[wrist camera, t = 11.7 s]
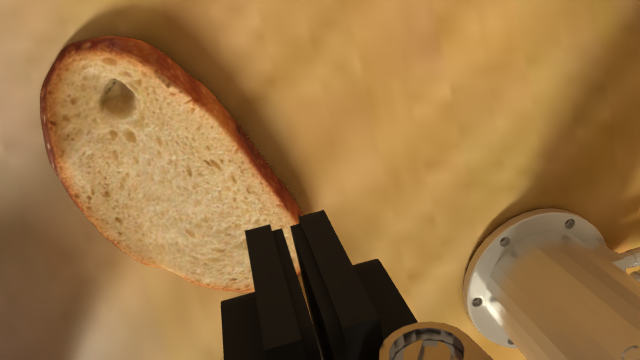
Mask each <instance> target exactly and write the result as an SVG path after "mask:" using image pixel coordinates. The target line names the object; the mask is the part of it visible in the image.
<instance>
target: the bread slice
mask: <svg viewBox="0 0 640 360" xmlns="http://www.w3.org/2000/svg"><path fill="white" fill-rule="evenodd" d="M40 116H41V124H42V130H43V135H44V141H45V147H46V151H47V155H48V159H49V162H50V164H51V166H52V168H53V170H54V172H55V173H56V175H57V176H58V178H59V179H60V181H61V182H62V184H63V185H64V187H65V189H66V191H67V192H68V194H69V196H70V197H71V199H72V200H73V202H74V203H75V204H76V205H77V207H78V208H79V209H80V210H81V211H82V212H83V213H84V215H85V216H86V217H87V218H88V219H89V220H90V221H91V222H92V223H93V224H94V225H95V226H96V228H97V229H98V230H99V232H100V233H101V234H102V235H103V236H104V237H105V238H106V239H108V240H109V241H111V242H112V243H113V244H114V245H116V246H117V247H118V248H119V249H120V250H122V251H123V252H124V253H126V254H128V255H130V256H131V257H132V258H134V259H135V260H136V261H138V262H140V263H142V264H145V265H148V266H154V267H160V268H164V269H167V270H169V271H171V272H173V273H176V274H178V275H180V276H181V277H183V278H184V279H186V280H187V281H189V282H191V283H193V284H196V285H199V286H203V287H208V288H212V289H215V290H227V291H238V292H255V289H254V283H253V277H252V271H251V266H250V260H249V254H248V248H247V242H246V236H245V230H249V229H253V228H257V227H261V226H265V225H268V224H270V225H271V229H272V231H273V230H277V229H280V228H282V229H283V233H284V236H285V239H286V242H287V245H288V248H289V251H290V255H291V258H292V261H293V264H294V267H295V270H296V274H297V276H298V275H299V274H300V273H301V271H300V267H299V263H298V259H297V254H296V250H295V246H294V242H293V237H292V233H291V228H290V226H292V225H296V224H299V219H298V217H299V216H303V213H302V211H301V210H300V208H299V206H298V204H297V203H296V201H295V200H294V199H293V198H292V196H291V195H290V193H289V192H288V190H287V189H286V187H285V186H284V184H283V183H282V182H281V181H280V180H279V179H278V178H277V176H276V175H275V174H274V172H273V171H272V170H271V168H270V167H269V166H268V164H267V163H266V162H265V160H264V159H263V157H262V156H261V155H260V153H259V152H258V150H257V149H256V148H255V146H254V145H253V144H252V142H251V141H250V140H249V138H248V137H247V135H246V134H245V133H244V131H243V130H242V129H241V127H240V126H239V125H238V124H237V122H236V121H235V120H234V119H233V117H232V116H231V115H230V114H229V113H228V112H227V110H226V109H225V108H224V107H223V106H222V105H221V104H220V103H219V101H218V100H217V99H216V98H215V96H214V95H213V94H212V93H211V92H210V91H209V90H208V89H207V88H206V87H205V86H204V85H203V84H202V83H201V82H200V81H198V80H196V79H194V78H192V77H191V76H190V75H188V74H187V73H186V72H185V71H184V70H183V69H182V68H181V67H179V66H178V65H177V64H176V63H175V62H174V61H173V60H171V59H170V58H169V57H167V56H166V55H165V54H164V53H162V52H161V51H159V50H158V49H156V48H155V47H153V46H152V45H150V44H148V43H146V42H144V41H141V40H137V39H132V38H128V37H120V36H102V37H97V38H92V39H87V40H83V41H78V42H74V43H71V44H69V45H68V46H66V47H65V48H64V49H63V50H62V51H61V53H60V54H59V56H58V58H57V59H56V61H55V63H54V64H53V66H52V68H51V69H50V71H49V73H48V75H47V77H46V79H45V81H44V83H43V86H42V89H41V93H40Z"/></svg>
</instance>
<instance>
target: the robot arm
mask: <svg viewBox="0 0 640 360" xmlns="http://www.w3.org/2000/svg"><path fill="white" fill-rule="evenodd" d="M298 219H299V224H296V225H292V226H290V228H291V233H292V237H293V242H294V246H295V250H296V254H297V259H298V263H299V267H300V271H301V276H302V280H303V284H304V288H305V293H306V297H307V301H308V305H309V310H310V314H311V318H312V321H311V318H310V315H309V311H308V308H307V305H306V302H305V299H304V296H303V293H302V289H301V286H300V283H299V280H298V277H297V274H296V270H295V267H294V264H293V261H292V258H291V255H290V251H289V248H288V245H287V242H286V239H285V236H284V233H283V229H282V228H280V229H277V230H273V231H272V229H271V225H270V224H268V225H265V226H261V227H257V228H253V229H249V230H245V236H246V242H247V248H248V254H249V260H250V266H251V271H252V277H253V283H254V289H255V292H253V293H249V294H246V295H242V296H238V297H235V298H231V299H227V300H224V301H221V317H222V334H223V350H224V360H322V359H323V360H493V359H492V358H491V357H490V356H489V355H488V354H487V353H486V352H485V351H484V350H483V349H482V348H481V347H480V346H479V345H478V344H477V343H476V342H474V341H473V340H472V339H471V338H470V337H469V336H468V335H467V334H466V333H464V332H463V331H461V330H460V329H458V328H457V327H454V326H451V325H448V324H445V323H438V322H420V323H418V322H417V320H416V319H415V317H414V315H413V314H412V312H411V310H410V309H409V307H408V306H407V304H406V302H405V301H404V299H403V298H402V296H401V294H400V293H399V291H398V289H397V288H396V286H395V285H394V283H393V281H392V280H391V278H390V277H389V275H388V273H387V272H386V270H385V268H384V267H383V265H382V264H381V262H380V261H379V260H378V259H374V260H370V261H366V262H363V263H359V264H356V265H352V264H351V262H350V260H349V258H348V256H347V254H346V252H345V250H344V248H343V246H342V244H341V242H340V240H339V238H338V237H337V235H336V233H335V231H334V229H333V227H332V225H331V223H330V221H329V219H328V217H327V215H326V213H325V211H324V210H322V211H318V212H315V213H311V214H307V215H303V216H299V217H298ZM636 266H640V247H638V248H634V249H631V250H628V251H626V252H623V253H620V254H619V253H617V252H614V251H612V250H611V249H609V248H608V247H607V246H606V243H605V241H604V238H603V236H602V235H601V234H600V232H599V231H598V229H597V228H596V227H595V226H593V225H592V224H591V223H590V222H589V221H587V220H586V219H584V218H582V217H581V216H579V215H577V214H575V213H573V212H570V211H567V210H563V209H554V208H548V209H537V210H533V211H530V212H526V213H523V214H521V215H519V216H516V217H514V218H512V219H510V220H508V221H507V222H505V223H504V224H502V225H501V226H500V227H498V228H497V229H496V230H495V231H493V232H492V233H491V234H490V235H489V236H488V237H487V238H486V239H485V240H484V242H483V243H482V244H481V245H480V247H479V248H478V249H477V250H476V252H475V254H474V256H473V258H472V259H471V261H470V263H469V266H468V269H467V272H466V274H465V278H464V285H463V301H464V305H465V309H466V312H467V314H468V316H469V318H470V320H471V322H472V323H473V324H474V326H475V327H476V328H477V329H478V331H479V332H480V333H481V334H482V335H483V336H485V337H486V338H487V339H488V340H490V341H492V342H494V343H496V344H498V345H500V346H504V347H508V348H518V349H519V350H520V351H521V353H522V354H523V355H524V356H525V357H526V359H527V360H640V270H638V271H634V272H632V273H631V274H628V273H626V268H630V267H636ZM312 322H313V324H312ZM320 353H321V354H320ZM321 356H322V358H321Z"/></svg>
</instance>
